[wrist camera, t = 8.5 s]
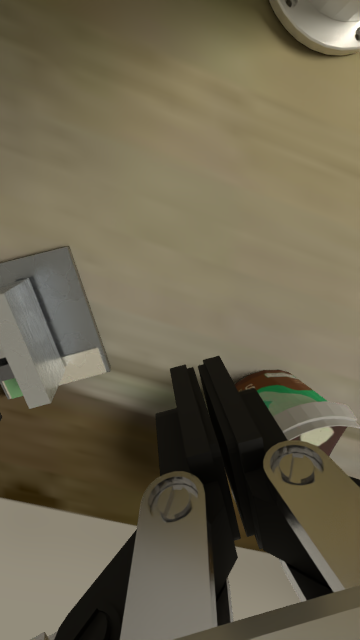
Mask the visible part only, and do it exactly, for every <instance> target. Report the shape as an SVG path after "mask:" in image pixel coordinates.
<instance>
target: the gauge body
mask: <svg viewBox="0 0 360 640" xmlns="http://www.w3.org/2000/svg"><path fill="white" fill-rule="evenodd" d="M28 278H29V280H30V282H31V285H32V287H33V290H34V292H35V295H36V297H37V300H38V302H39V305H40V307H41V310H42V312H43V315H44V317H45V320H46V322H47V325H48V327H49V330H50V332H51V335H52V338H53V340H54V343H55V345H56V348H57V350H58V353H59V355H60V358H61V360H62V363H63V365H64V368H65V372H64V374H63V377H62V379H61V381H60V383H59V385H62V384H66V383H70V382H73V381H77V380H81V379H84V378H88V377H92V376H95V375H99V374H103V373H106V372H110V369H111V366H110V364H109V361H108V358H107V355H106V352H105V349H104V346H103V343H102V340H101V337H100V334H99V332H98V329H97V326H96V323H95V320H94V317H93V314H92V311H91V308H90V305H89V302H88V300H87V297H86V294H85V291H84V288H83V285H82V282H81V279H80V276H79V273H78V270H77V268H76V265H75V262H74V259H73V256H72V253H71V250H70V247H69V246H66V247H62V248H58V249H54V250H50V251H46V252H42V253H38V254H34V255H30V256H26V257H22V258H18V259H14V260H10V261H6V262H2V263H0V288H1V287H3V286H5V285H7V284H9V283H12V282H16V281H20V280H24V279H28ZM0 384H1V386H2V388H3V390H4V392H5V394H6V396H7V398H8V399H11V398H12V399H13V398H16V397H20V396H23V394H22V392H21V389H20V387H19V385H18V383H17V381H16V379H15V376H14V374H13V372H12V370H11V368H10V366H9V363H8V361H7V359H6V357H5V358H1V359H0Z"/></svg>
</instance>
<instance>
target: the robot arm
mask: <svg viewBox="0 0 360 640" xmlns="http://www.w3.org/2000/svg"><path fill="white" fill-rule="evenodd" d="M269 1H270V4H271V6H272V8H273V10H274V13H275V14H276V16H277V17H278V19H279V20H280V21H281V23H282V24H283V26H284V27H285V29H286V30H287V31H288V32H289V33H290V34H291V35H292V36H293V37H294V38H295V39H296V40H297V41H299V42H301V43H302V44H304V45H305V46H307V47H308V48H310V49H312V50H315V51H318V52H321V53H324V54H328V55H341V56H342V55H348V54H354V53H358V52H360V0H269ZM286 3H287V4H288V6H289V7H288V6H287V5H286ZM203 363H204V364H203V365H199V366H198V369H199V373H200V377H201V381H202V386H203V390H204V394H205V399H206V403H207V407H208V411H209V414H208V411H207V408H206V405H205V402H204V399H203V396H202V393H201V390H200V387H199V384H198V381H197V378H196V374H195V371H194V368H193V367H192V368H188V369H187V368H186V365H182V366H178V367H174V368H171V369H170V373H171V378H172V383H173V389H174V394H175V399H176V405H177V408H175V409H172V410H168V411H164V412H160V413H156V428H157V440H158V453H159V466H160V477H159V478H157V479H156V480H155V481H153V482H152V483H151V484H150V485H149V486H148V488H147V490H146V491H145V493H144V495H143V498H142V501H141V506H140V513H139V519H138V526H137V530H136V531H135V532H134V533H133V535H132V536H131V537H130V538H129V540H128V541H127V542H126V543H125V545H124V546H123V547H122V548H121V550H120V551H119V552H118V553H117V554H116V556H115V557H114V558H113V559H112V561H111V562H110V563H109V564H108V566H107V567H106V568H105V569H104V570H103V572H102V573H101V574H100V575H99V577H98V578H97V579H96V580H95V582H94V583H93V584H92V585H91V587H90V588H89V589H88V590H87V592H86V593H85V594H84V595H83V597H82V598H81V599H80V600H79V602H78V603H77V604H76V606H74V608H73V609H72V610H71V611H70V613H69V614H68V615H67V617H66V618H65V620H64V621H63V623H62V624H61V626H60V627H59V629H58V631H57V632H55V633H54V634H52V635H50V636H48V637H47V635H46V633H45V632H44V633H41V634H40V635H38V636H36V637H35V638H33V639H31V640H360V480H359V479H356V478H353V477H350V476H348V475H347V474H346V473H345V472H344V471H343V470H342V469H341V468H340V467H339V466H338V465H337V464H336V463H335V462H334V461H333V460H332V459H331V458H330V457H329V456H328V455H327V454H326V453H325V452H324V451H322V450H321V449H320V448H318V447H317V446H315V445H313V444H310V443H308V442H304V441H299V440H288V439H287V438H286V436H285V435H284V433H283V432H282V430H281V428H280V427H279V425H278V424H277V422H276V420H275V419H274V417H273V416H272V414H271V412H270V411H269V409H268V408H267V406H266V405H265V403H264V401H263V400H262V398H261V397H260V395H259V393H258V392H257V390H256V389H255V388H250V389H247V390H243V391H239V392H238V390H237V388H236V387H235V385H234V383H233V381H232V379H231V377H230V375H229V373H228V371H227V370H226V368H225V366H224V364H223V362H222V360H221V358H220V356H216V357H213V358H209V359H205V360H203ZM209 416H210V417H209ZM224 467H225V468H224ZM225 471H226V472H225ZM226 474H227V477H228V480H229V483H230V486H231V489H232V492H233V495H234V498H235V501H236V504H237V508H238V511H239V514H240V517H241V520H242V523H243V526H244V529H245V532H246V535H247V537H249V536H252V535H255V537H256V540H257V543H258V546H259V549H262V548H263V550H264V551H266V552H268V553H270V554H271V555H273V556H275V557H277V558H279V560H280V563H281V565H282V568H283V570H284V572H285V574H286V576H287V578H288V579H289V581H290V583H291V585H292V587H293V588H294V590H295V592H296V594H297V596H298V598H299V599H300V601H301V602H300V603H297V604H293V605H290V606H286V607H283V608H279V609H276V610H273V611H269V612H265V613H263V614H259V615H255V616H252V617H248V618H245V619H242V620H238V621H235V622H233V612H232V603H231V593H230V585H229V580H228V575H229V573H230V571H231V569H232V567H233V565H234V564H235V561H236V560H237V558H238V557H237V553H236V548H235V544H234V540H238V539H241V537H240V533H239V528H238V524H237V520H236V515H235V511H234V507H233V502H232V498H231V494H230V489H229V485H228V481H227V477H226Z"/></svg>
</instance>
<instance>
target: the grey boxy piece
mask: <svg viewBox="0 0 360 640" xmlns="http://www.w3.org/2000/svg"><path fill="white" fill-rule="evenodd" d="M5 357H6V359H7V361H8V363H9V366H10V368H11V370H12V372H13V374H14V376H15V379H16V381H17V383H18V385H19V387H20V389H21V392H22V394H23V396H24V398H25V400H26V402H27V405H28V407H29V409H30V408H34V407H38V406H41V405H45V404H49V403H51V402H52V399H53V397H54V395H55V393H56V390H57V388H58V386H59V383H60V381H61V379H62V377H63V374H64V372H65V368H64V365H63V363H62V360H61V358H60V355H59V353H58V350H57V348H56V345H55V343H54V340H53V338H52V335H51V332H50V330H49V327H48V325H47V322H46V320H45V317H44V315H43V312H42V310H41V307H40V305H39V302H38V300H37V297H36V295H35V292H34V290H33V287H32V285H31V282H30V280H29V278H28V279H24V280H20V281H16V282H12V283H9V284H7V285H5V286H3V287H1V288H0V359H1V358H5ZM1 419H2V415H1V413H0V420H1Z"/></svg>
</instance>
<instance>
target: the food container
mask: <svg viewBox="0 0 360 640" xmlns="http://www.w3.org/2000/svg"><path fill="white" fill-rule="evenodd" d="M235 387H236V388H237V390H238V392H239V391H243V390H247V389H250V388H255V389H256V390H257V392H258V393H259V395H260V397H261V398H262V400H263V401H264V403H265V405H266V406H267V408H268V409H269V411H270V412H271V414H272V416H273V417H274V419H275V420H276V422H277V424H278V425H279V427H280V428H281V430H282V432H283V433H284V435H285V436H286V438H287V439H288V440H299V441H304V442H308V443H310V444H313V445H315V446H317V447H318V448H320V449H321V450H322V451H324V452H325V453H326V454H327V455H328V456H330V454H331V452H332V450H333V448H334V447H335V445H336V443H337V442H338V440H339V439H340V437H341V436H342V434H343V433H344V431H345V430H346V428H347V427H348V426H349V427H355V428H359V429H360V426H359V425H358V424H357V423H356V421H357V418H356V416H355V415H354V414H353V412H352V411H351V409H350V408H349V407H348V405H345V404H341V403H337V402H328V401H327V400H325V399H324V398H323V397H321V396H320V395H319V394H317V393H316V392H315V391H313V390H312V389H311V388H309V387H308V386H307V385H305V384H304V383H303V382H301V381H300V380H298V379H297V378H296V377H294V376H293V375H292V374H290V373H289V372H285V371H281V370H263V371H260V372H257V373H253V374H250V375H248V376H246V377H245V378H243V379H242V380H240V381H239V382H237V383H236V384H235ZM232 494H233V492H232ZM233 497H234V495H233ZM234 500H235V498H234ZM235 502H236V501H235Z"/></svg>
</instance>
